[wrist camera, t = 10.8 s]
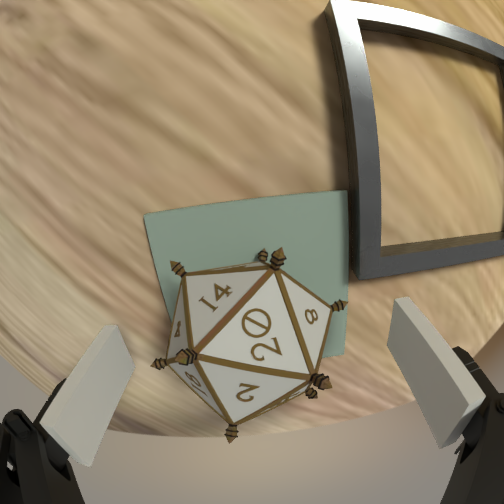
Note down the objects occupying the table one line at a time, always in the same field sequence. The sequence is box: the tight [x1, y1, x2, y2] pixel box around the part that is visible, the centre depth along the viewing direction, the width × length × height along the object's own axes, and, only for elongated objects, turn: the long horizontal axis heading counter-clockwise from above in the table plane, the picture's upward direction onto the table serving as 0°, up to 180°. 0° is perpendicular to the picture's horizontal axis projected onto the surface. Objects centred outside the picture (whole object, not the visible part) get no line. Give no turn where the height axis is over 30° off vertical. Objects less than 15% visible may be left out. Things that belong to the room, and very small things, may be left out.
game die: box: [151, 247, 348, 443], centre depth 12 cm, size 9×8×10 cm
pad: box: [144, 190, 349, 358], centre depth 16 cm, size 11×11×1 cm
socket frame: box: [324, 0, 504, 280], centre depth 12 cm, size 15×15×2 cm
